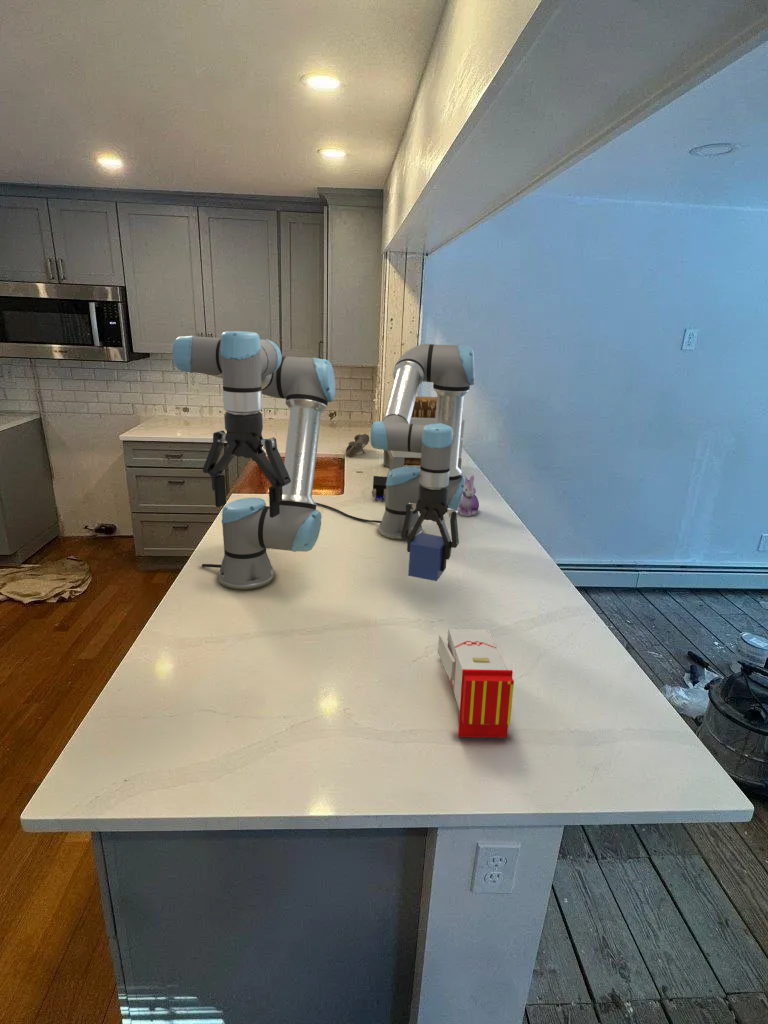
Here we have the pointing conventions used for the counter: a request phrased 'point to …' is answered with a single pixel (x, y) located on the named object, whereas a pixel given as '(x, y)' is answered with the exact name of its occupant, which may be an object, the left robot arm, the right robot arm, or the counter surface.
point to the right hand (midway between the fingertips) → (427, 566)
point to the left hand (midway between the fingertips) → (247, 510)
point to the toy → (478, 682)
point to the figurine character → (379, 487)
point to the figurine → (469, 499)
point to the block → (426, 557)
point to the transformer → (423, 416)
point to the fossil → (357, 445)
